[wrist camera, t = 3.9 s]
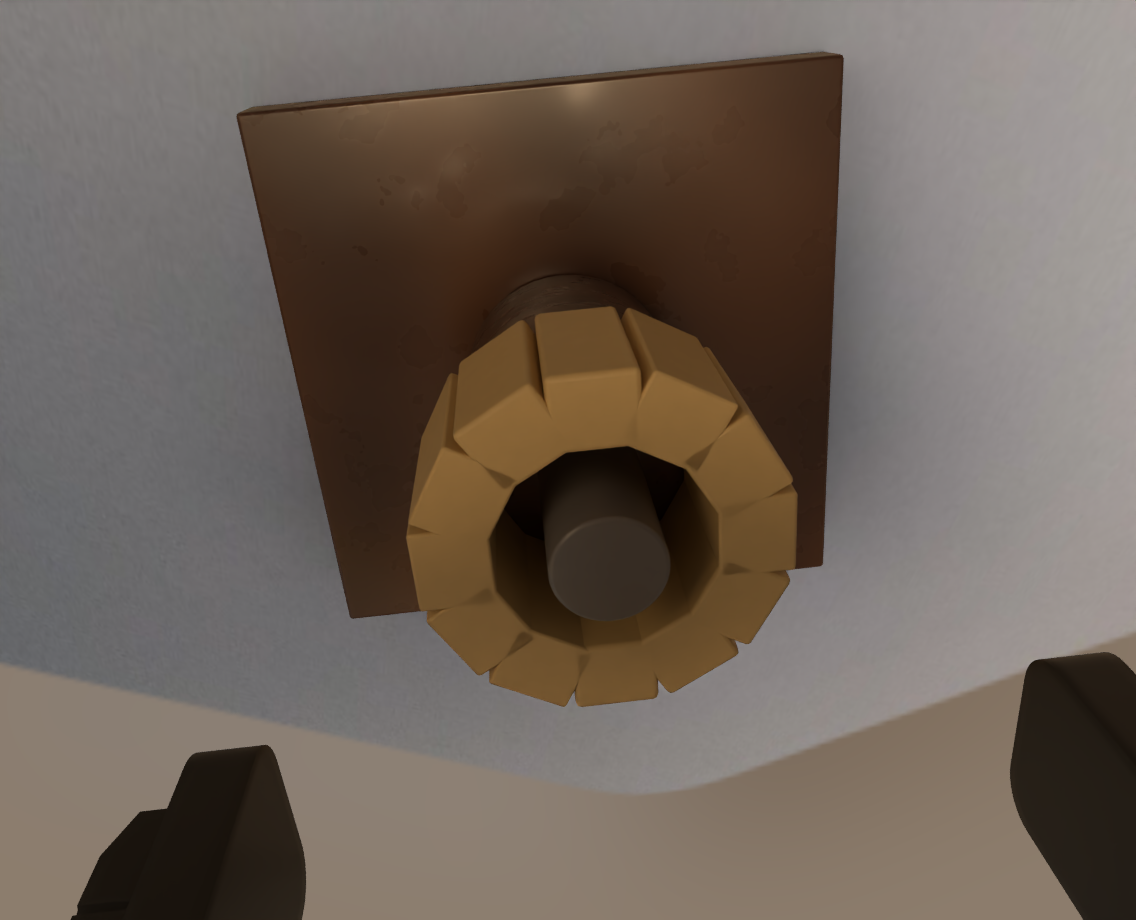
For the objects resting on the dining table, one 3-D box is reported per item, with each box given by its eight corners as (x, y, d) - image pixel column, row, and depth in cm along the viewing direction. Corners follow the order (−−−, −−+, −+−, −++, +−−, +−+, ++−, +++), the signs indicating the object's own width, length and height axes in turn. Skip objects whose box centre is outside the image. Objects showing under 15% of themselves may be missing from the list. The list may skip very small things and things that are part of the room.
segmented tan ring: (448, 617, 18) (440, 725, 15) (398, 326, 15) (379, 394, 13) (748, 583, 18) (793, 685, 15) (748, 289, 16) (802, 351, 13)
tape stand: (355, 593, 25) (285, 906, 16) (248, 107, 19) (58, 191, 11) (809, 542, 25) (973, 823, 16) (825, 51, 20) (1080, 90, 11)
